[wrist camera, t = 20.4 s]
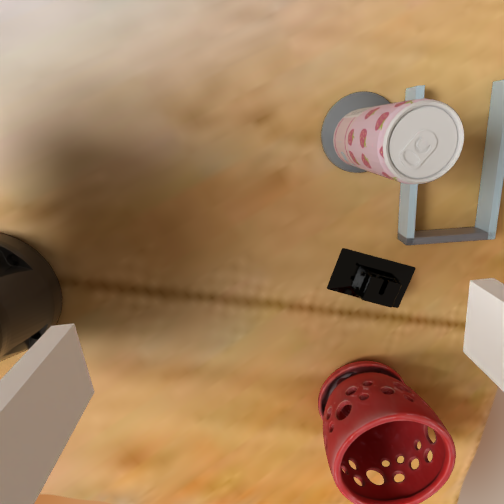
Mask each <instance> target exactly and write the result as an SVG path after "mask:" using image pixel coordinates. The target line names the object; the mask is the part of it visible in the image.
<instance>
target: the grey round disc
mask: <svg viewBox="0 0 504 504" xmlns="http://www.w3.org/2000/svg"><path fill="white" fill-rule="evenodd" d="M386 104H390V103H389V102H388V101H387V100H386V99H385V98H383V97H382V96H380V95H378V94H375V93H372V92H356V93H353V94H350V95H347V96H345V97H343V98H342V99H340V100H339V101H338V102H336V103H335V104H334V105H333V106H332V107H331V109H330V110H329V111H328V113H327V115H326V117H325V119H324V121H323V125H322V129H321V142H322V147H323V150H324V152H325V154H326V156H327V157H328V159H329V160H330V161H331V162H332V163H333V164H334V165H335V166H337V167H339V168H340V169H343V170H345V171H349V172H366V170H363V169H360V168H357V167H354V166H352V165H349V164H347V163H345V162H343V161H342V160H341V159H340V158H339V157H338V155H337V153H336V152H335V149H334V144H333V137H334V132H335V128H336V127H337V125H338V123H339V122H340V120H341V119H342V118H343V117H344V116H345V115H346V114H348V113H350V112H351V111H354V110H357V109H362V108H368V107H374V106H380V105H386Z"/></svg>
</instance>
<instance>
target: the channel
mask: <svg viewBox="0 0 504 504" xmlns="http://www.w3.org/2000/svg"><path fill="white" fill-rule="evenodd" d="M424 91H425V85H422V86H414V87H410V88H406V95H405V101H409V100H415V99H424ZM503 179H504V80H500V81H494V82H493V86H492V94H491V102H490V110H489V118H488V126H487V134H486V142H485V150H484V158H483V166H482V174H481V182H480V190H479V198H478V206H477V214H476V223H475V227H463V228H450V229H436V230H422V231H415V218H416V204H417V190H418V184H405V183H401V185H400V203H399V221H398V240H400V241H401V242H402V243H404V244H405V245H419V244H433V243H447V242H461V241H475V240H489V239H495V235H496V228H497V221H498V214H499V207H500V200H501V193H502V186H503Z"/></svg>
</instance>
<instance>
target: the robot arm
mask: <svg viewBox="0 0 504 504" xmlns="http://www.w3.org/2000/svg"><path fill="white" fill-rule="evenodd" d="M61 309H62V293H61V288H60V285H59V282H58V279H57V277H56V275H55V273H54V271H53V270H52V268H51V267H50V265H49V264H48V263H47V261H46V260H45V259H44V258H43V257H42V256H41V255H40V254H39V253H38V252H37V251H36V250H34V249H33V248H32V247H30V246H29V245H27V244H26V243H24V242H22V241H20V240H18V239H16V238H14V237H11V236H9V235H6V234H2V233H0V361H3V360H5V359H7V358H10V357H12V356H14V355H17V354H19V353H21V352H24V351H26V350H28V349H29V350H28V351H27V352H26V353H25V354H24V355H23V356H22V357H21V359H20V360H19V361H18V362H17V363H16V364H15V365H14V366H13V367H12V368H11V369H10V370H9V371H8V372H7V373H6V375H5V376H4V377H3V378H2V379H1V380H0V504H34V503H35V501H36V499H37V497H38V495H39V494H40V492H41V490H42V488H43V486H44V484H45V483H46V481H47V479H48V477H49V475H50V473H51V471H52V470H53V468H54V466H55V464H56V462H57V460H58V458H59V457H60V455H61V453H62V451H63V449H64V447H65V446H66V444H67V442H68V440H69V438H70V436H71V434H72V433H73V431H74V429H75V427H76V425H77V423H78V421H79V420H80V418H81V416H82V414H83V412H84V410H85V408H86V407H87V405H88V403H89V401H90V399H91V397H92V396H93V394H94V389H93V385H92V382H91V379H90V375H89V372H88V368H87V365H86V361H85V358H84V355H83V351H82V348H81V344H80V341H79V338H78V334H77V331H76V327H75V324H74V323H73V324H64V325H55V324H56V323H57V321H58V319H59V316H60V313H61ZM463 352H464V353H465V354H466V355H467V356H468V357H469V358H470V359H471V360H472V361H473V362H474V363H475V364H476V365H477V366H478V367H479V368H480V369H481V370H482V371H483V372H484V373H485V374H486V375H487V376H488V377H489V378H490V379H491V380H492V381H493V382H494V383H495V384H496V385H497V386H498V387H499V388H500V389H501V390H503V392H504V284H503V283H501V282H499V281H498V280H496V279H494V278H488V279H478V280H470V286H469V296H468V306H467V316H466V326H465V336H464V346H463Z"/></svg>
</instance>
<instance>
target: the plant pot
mask: <svg viewBox="0 0 504 504" xmlns="http://www.w3.org/2000/svg"><path fill="white" fill-rule="evenodd" d="M318 408H319V413H320V416H321V418H322V420H323V436H324V444H325V450H326V455H327V459H328V463H329V467H330V470H331V473H332V476H333V479H334V481H335V483H336V486H337V487H338V489H339V490H340V492H341V493H342V494H343V495H344V496H345V497H346V498H347V499H348V500H350V501H351V502H353V503H354V504H419V503H421V502H423V501H424V500H426V499H428V498H429V497H431V496H432V495H433V494H435V493H436V492H437V491H438V490H439V489H440V488H441V487H442V486H443V485H444V484H445V483H446V481H447V480H448V478H449V477H450V475H451V473H452V471H453V468H454V464H455V458H456V451H455V446H454V442H453V440H452V437H451V436H450V434H449V432H448V431H447V429H446V428H445V426H444V425H443V423H442V422H441V420H440V419H439V418H438V416H437V415H436V414H435V413H434V411H433V410H432V409H431V408H430V406H429V405H428V404H427V403H426V402H425V401H424V400H423V399H422V398H421V397H420V396H419V395H418V394H417V393H416V392H415V391H413V390H412V389H411V388H410V387H408V386H407V385H405V383H404V381H403V379H402V378H401V377H400V375H399V374H398V373H397V372H396V371H395V370H393V369H392V368H390V367H389V366H387V365H384V364H382V363H379V362H374V361H358V362H353V363H350V364H347V365H345V366H342V367H341V368H339V369H337V370H336V371H335V372H333V373H332V374H331V375H330V376H329V377H328V378H327V380H326V381H325V382H324V384H323V386H322V388H321V390H320V393H319V398H318ZM428 427H430V428H432V429H433V430H434V432H435V435H436V441H435V442H434V443H433V442H432V441H431V440H430V438H429V435H428V429H427V428H428ZM419 441H420V442H421V448H420V449H418V448H417V443H418V442H419ZM430 450H431V452H432V454H433V458H432V460H431V462H429V461H428V458H427V455H428V452H429V451H430ZM399 456H403V457H404V462H403V463H398V462H397V458H398V457H399ZM415 458H417V459H418V460H419V467H418V468H417V469H412V467H411V462H412V460H413V459H415ZM349 460H351V461H352V462H354V464H355V465H356V470H355V469H353V468H351V466H350V465H349ZM384 460H387V461H389V462H390V465H389V466H388V467H384V466H382V461H384ZM342 469H343V470H344V472H345V473H344V472H343V470H342ZM368 470H374V471H377V472H379V473H380V474H381V475H382V476H383V478H384V483H383V484H382V485H376V484H374V483H372V482H371V481H370V480H369V479H368V477H367V475H366V472H367V471H368ZM396 474H403V475H404V476H405V479H404V480H403V481H402V482H395V481H394V476H395V475H396ZM354 477H356V478H358V479H359V480H360V481H361V483H362V486H360V485H358V484H357V483H356V482H355V480H354Z"/></svg>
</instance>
